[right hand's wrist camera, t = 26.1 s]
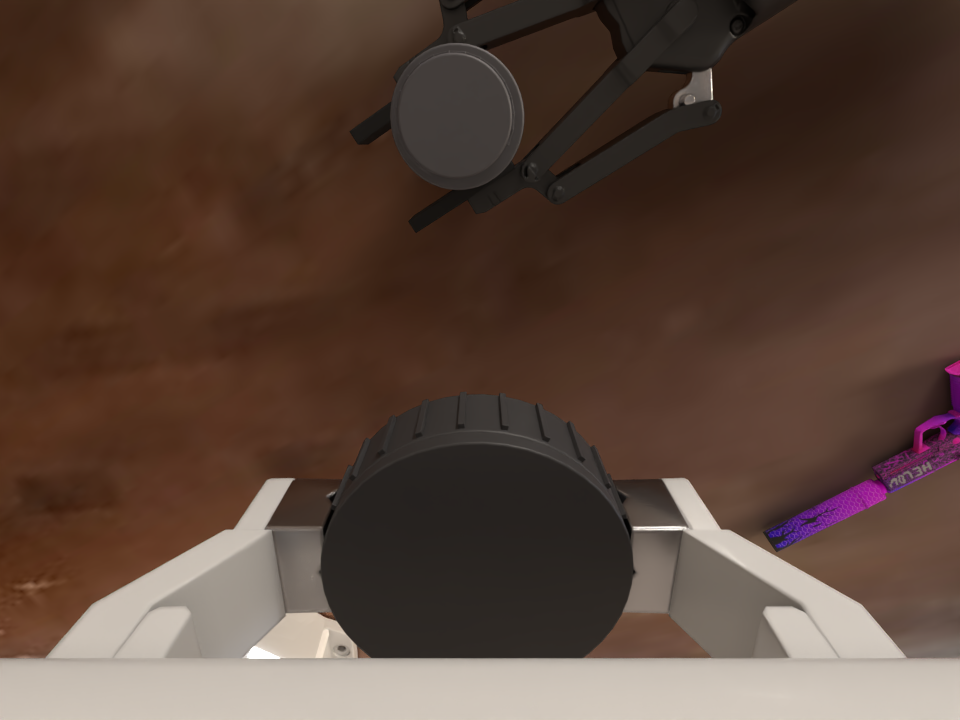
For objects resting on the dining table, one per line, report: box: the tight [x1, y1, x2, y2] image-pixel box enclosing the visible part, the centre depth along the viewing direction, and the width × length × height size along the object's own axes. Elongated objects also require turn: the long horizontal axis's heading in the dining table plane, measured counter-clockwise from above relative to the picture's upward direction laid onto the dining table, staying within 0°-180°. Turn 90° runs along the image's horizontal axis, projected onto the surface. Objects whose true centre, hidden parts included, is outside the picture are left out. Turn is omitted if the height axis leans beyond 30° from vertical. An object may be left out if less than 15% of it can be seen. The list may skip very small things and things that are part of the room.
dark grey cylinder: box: [390, 43, 524, 190], centre depth 26 cm, size 5×5×19 cm
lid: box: [321, 392, 634, 658], centre depth 10 cm, size 5×5×2 cm
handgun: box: [763, 361, 960, 552], centre depth 43 cm, size 21×8×2 cm, turn 127°
